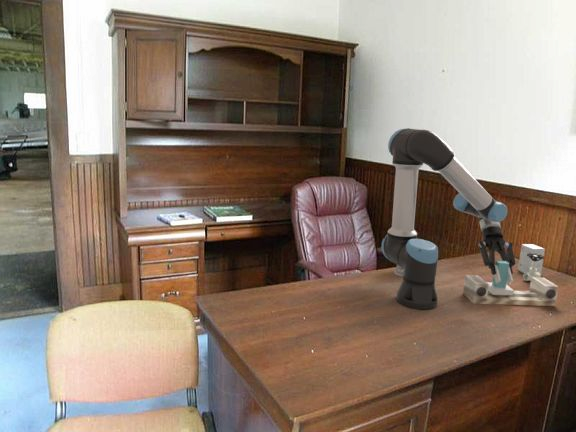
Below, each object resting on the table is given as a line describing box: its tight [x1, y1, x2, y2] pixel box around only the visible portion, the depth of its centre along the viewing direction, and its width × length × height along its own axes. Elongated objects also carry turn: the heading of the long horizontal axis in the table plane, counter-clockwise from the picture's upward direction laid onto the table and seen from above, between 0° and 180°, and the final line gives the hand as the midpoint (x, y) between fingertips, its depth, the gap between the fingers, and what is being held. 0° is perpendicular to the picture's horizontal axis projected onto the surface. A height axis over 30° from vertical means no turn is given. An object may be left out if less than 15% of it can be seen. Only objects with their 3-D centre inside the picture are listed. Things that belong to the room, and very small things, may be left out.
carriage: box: [486, 260, 515, 296], centre depth 178 cm, size 8×8×13 cm
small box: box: [517, 243, 546, 276], centre depth 212 cm, size 8×6×13 cm
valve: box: [522, 253, 545, 282], centre depth 202 cm, size 7×7×12 cm
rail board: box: [462, 274, 559, 307], centre depth 179 cm, size 32×10×8 cm, turn 91°
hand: (504, 282), depth 174 cm, fingers closed on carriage, 4 cm apart
